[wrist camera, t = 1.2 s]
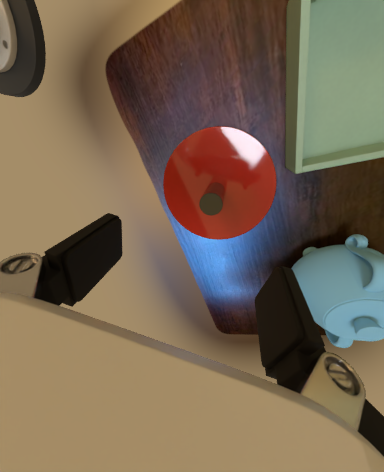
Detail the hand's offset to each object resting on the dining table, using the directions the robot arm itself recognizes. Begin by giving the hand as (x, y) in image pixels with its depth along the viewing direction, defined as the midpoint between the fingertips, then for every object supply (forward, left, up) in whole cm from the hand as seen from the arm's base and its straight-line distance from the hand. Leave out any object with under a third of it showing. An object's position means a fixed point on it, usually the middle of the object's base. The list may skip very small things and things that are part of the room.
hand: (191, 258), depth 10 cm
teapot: (+28, +2, -24) cm, 37 cm away
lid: (0, 0, -13) cm, 13 cm away
